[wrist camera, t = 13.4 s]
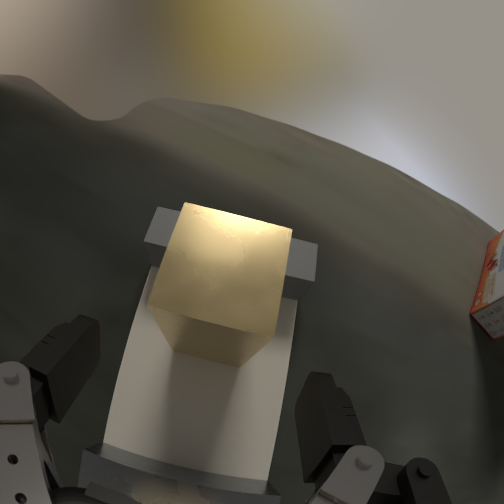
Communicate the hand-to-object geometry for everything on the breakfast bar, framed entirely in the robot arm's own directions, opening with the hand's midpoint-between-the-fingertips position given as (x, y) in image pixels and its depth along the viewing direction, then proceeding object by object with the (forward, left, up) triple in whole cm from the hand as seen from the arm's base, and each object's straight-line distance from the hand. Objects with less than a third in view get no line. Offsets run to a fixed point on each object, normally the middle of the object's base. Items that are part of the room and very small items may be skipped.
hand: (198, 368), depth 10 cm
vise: (0, -1, -12) cm, 12 cm away
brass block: (0, +4, -11) cm, 12 cm away
